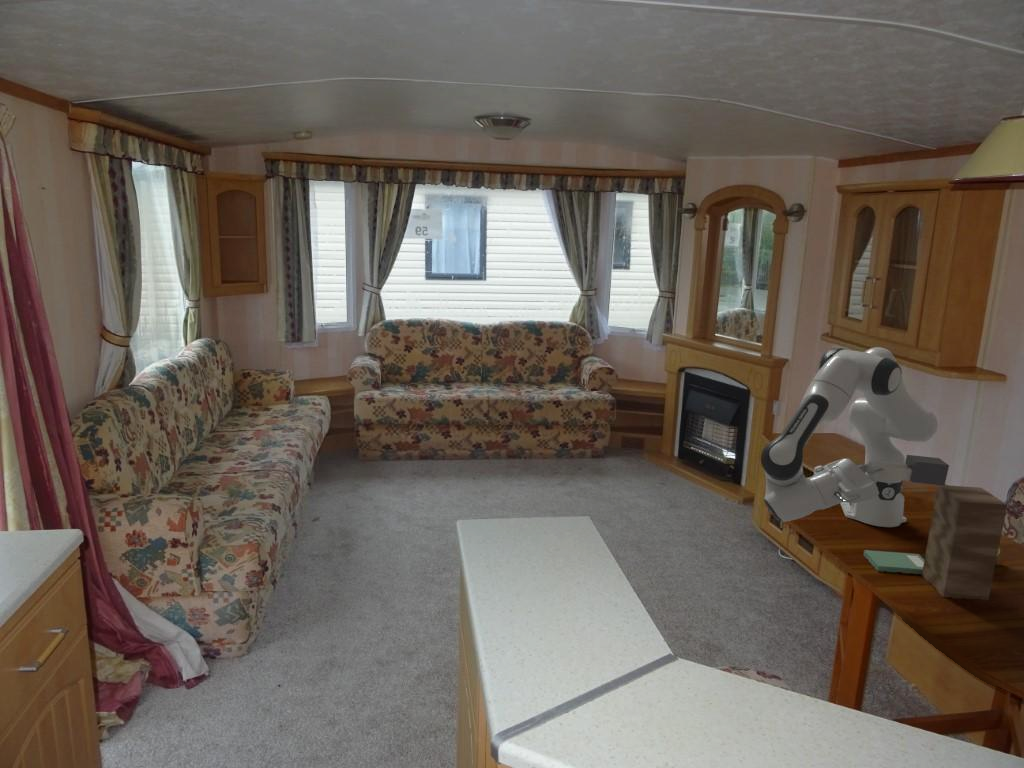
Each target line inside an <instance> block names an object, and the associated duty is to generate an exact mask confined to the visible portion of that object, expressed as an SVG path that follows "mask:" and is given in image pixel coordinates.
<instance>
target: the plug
mask: <svg viewBox="0 0 1024 768" xmlns="http://www.w3.org/2000/svg"><path fill="white" fill-rule="evenodd" d="M881 468H882V469H884V470H885V471H886V473H887V476H886V477H883V478H888V479H898V480H902V481H908V482H911V483H915V484H916V483H918V484H925V485H934V486H938V485H943V486H945V485H946V481H947V477H948V476H947V475H948V472H949V468H950V465H949V463H947V462H945V461H944V460H943V459H941V458H940V457H931V456H923V455H913V454H912V455H911V454H906V458H905V463H898V462H888V461H881V462H871V461H869V462H868V467H867V473H868V474H869V475H870V474H871V475H872V474H874V473H876V472H877V471H876V470H879V469H881Z"/></svg>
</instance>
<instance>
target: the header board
mask: <svg viewBox="0 0 1024 768" xmlns="http://www.w3.org/2000/svg"><path fill="white" fill-rule="evenodd" d="M863 557H865V559H866V560H867V559H868V560H867V561H868V562H869V563H870V564H871V565H872V567H873V566H874V567H875V568H874V567H873V568H874V569H875V570H876V572H884V571H887V572H886V573H888V572H889V573H897V572H902V573H901V574H910V573H913V575H922V571H923V565H924V560H925V558H923V557H922V556H921V555H920V554H919V553H910V552H909V553H908V552H907V553H906V552H896V551H882V550H871V549H870V550H868V549H864V550H863Z"/></svg>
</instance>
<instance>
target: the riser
mask: <svg viewBox="0 0 1024 768" xmlns="http://www.w3.org/2000/svg"><path fill="white" fill-rule="evenodd" d="M934 498H935V499H934V504H933V509H932V510H933V511H932V514H931V515H932V516H931V522H930V528H929V532H928V538H927V545H926V549H925V555H924V565H923V571H922V574H921V576H922V577H923V578H924V579H925V580H926V581H927V582H928V581H929V582H928V583H929V584H930V583H931V584H932V585H931V584H930V585H931V587H933V586H934V587H935V588H936V589H937V590H938V591H939V592H938V591H937V590H936V589H935V588H934V587H933V588H934V589H935V590H936V591H937V592H938V594H939V595H941V596H942V597H943V598H949V597H952V598H951V599H961V598H965V599H964V600H974V599H978V600H977V601H987V600H988V601H989V598H990V594H991V593H990V592H991V588H992V583H993V578H994V574H995V568H996V563H997V559H998V556H997V554H998V549H999V548H1000V543H1001V540H1002V539H1001V538H1002V533H1003V528H1004V524H1005V518H1006V514H1007V508H1008V503H1005V502H1004V501H1002V500H1001V499H999V498H998V497H996V496H995V495H993V494H992V493H991V492H988V491H987V490H985V489H984V488H982V487H977V486H961V485H960V486H959V485H947V484H945V486H943V485H937V488H936V494H935V497H934ZM979 599H981V600H979Z"/></svg>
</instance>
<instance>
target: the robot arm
mask: <svg viewBox="0 0 1024 768" xmlns="http://www.w3.org/2000/svg"><path fill="white" fill-rule="evenodd" d="M818 369H819V370H818V371H817V373H816V374H815V376H813V378H812V380H811V382H810V383H809V385H808V386H807V388H806V391H805V393H804V395H803V397H802V400H801V402H800V405H799V407H798V409H797V410H796V411H795V413H794V415H793V416H792V418H791V419H790V421H788V422H789V423H788V424H787V425H786V427H785V428H784V430H782V432H781V434H779V435H778V436H777V437H775V438H774V439H773V440H771V441H770V442H769V443H768V444H766V445H765V447H764V448H763V449H762V451H761V455H760V462H761V467H762V468H763V470H764V474H765V495H764V498H763V502H764V504H765V506H766V508H767V510H768V511H769V513H770V514H771V515H772V516H773V518H774V519H775V520H776V521H779V522H782V523H783V522H785V523H786V522H790V521H791V522H792V521H794V520H798V519H801V518H804V517H807V516H809V515H812V513H814V512H815V511H820V510H825V509H828V508H831V507H833V506H836V505H839V504H840V507H841V509H842V511H843V513H844V516H845V517H846V518H849V519H851V520H852V519H853V520H856V521H859V522H862V523H864V524H867V525H871V526H876V527H881V528H882V527H883V528H895V527H899V526H900V525H901V524H902V523H906V522H907V517H906V516H904V509H905V496H904V495H903V494H902V491H903V487H904V484H903V483H904V482H903V481H904V480H898V479H888V478H883V477H886V476H887V473H886V471H885V470H884V469H882V468H881V469H879V470H876V471H877V472H876V473H874V474H872V475H871V474H870V475H869V474H868V473H867V467H868V462H869V461H871V462H881V461H888V462H898V463H905V462H906V458H905V456H904V454H903V453H902V451H901V450H899V449H898V448H897V447H896V446H895V445H894V444H893V443H892V441H891V438H893V439H897V440H903V441H907V442H915V443H916V442H917V443H919V442H920V443H926V442H928V441H930V440H931V439H932V438H933V437H934V436H935V434H936V433H937V429H938V420H937V417H936V415H935V413H934V412H932V411H931V410H929V409H927V408H926V407H923V406H922V405H921V404H920V403H918V402H917V401H916V400H915V399H914V397H912V396H911V394H909V391H908V390H907V389H906V387H905V384H904V383H905V382H904V379H903V375H902V373H903V372H902V368H901V366H900V365H899V363H898V361H897V359H896V358H895V355H894V354H893V353H892V352H891V351H890V350H889V349H887V348H884V347H879V346H876V347H871V348H868V349H866V350H865V351H858V350H851V349H845V348H841V347H835V348H834V347H833V348H830V349H829V350H827V351H826V352H824V354H823V355H822V356H821V358H820V361H819V366H818ZM855 391H859V392H863V393H864V397H858V398H856V399H855V400H854V401H853V402H852V404H850V407H849V410H848V419H849V421H850V423H851V425H852V426H853V427H854V428H855V429H856V430H857V432H858V433H859V434H860V436H861V439H862V441H863V445H864V449H865V455H864V456H865V457H864V458H865V459H864V463H863V464H858V465H857V464H856V463H854V461H852V460H851V459H850V458H849V457H848V458H841V459H838V460H835V461H832V462H828V463H826V464H825V465H818V466H815V467H814V469H813V475H812V476H809V477H806V476H805V474H804V470H803V469H804V467H803V458H804V457H803V455H804V448H805V447H806V445H807V444H808V441H809V440H810V438H811V437H812V436H813V434H814V433H815V431H816V429H817V428H818V426H819V425H820V424H821V423H830V422H833V421H836V420H837V419H838V417H840V416H841V414H842V413H843V412H844V411H845V410H846V408H847V406H848V405H849V403H850V401H851V399H852V397H853V395H854V394H855Z"/></svg>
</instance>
